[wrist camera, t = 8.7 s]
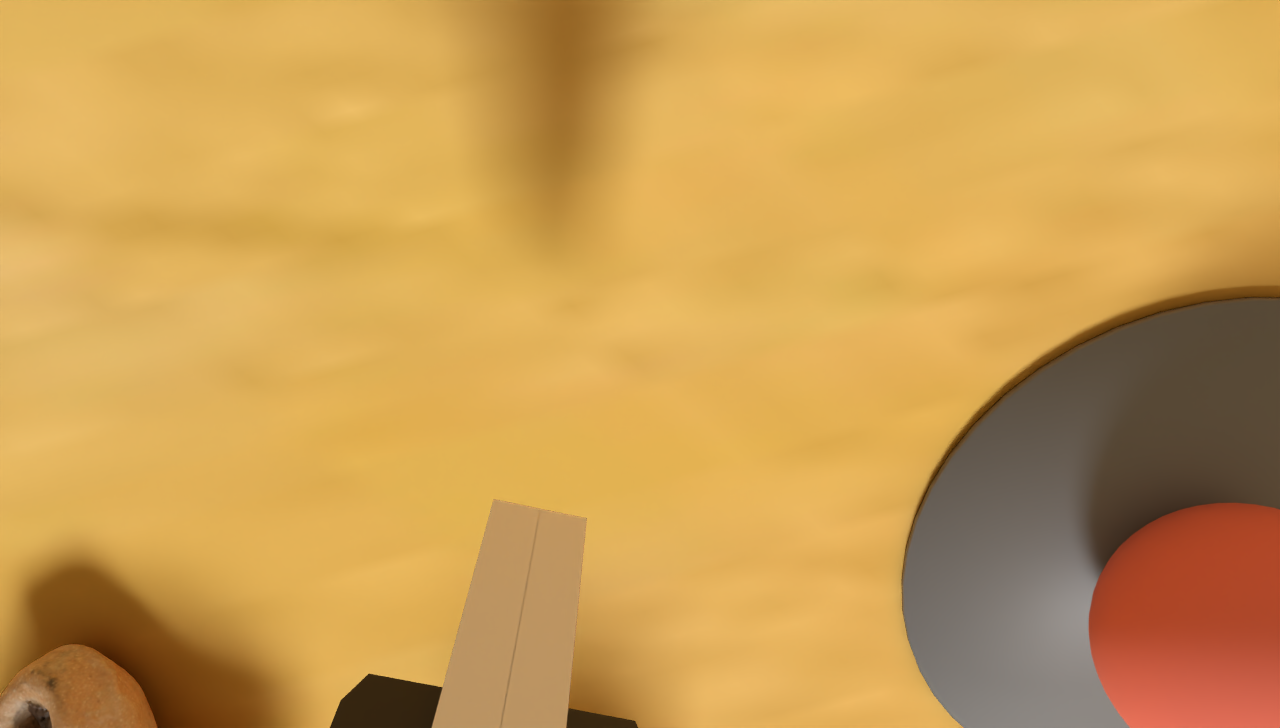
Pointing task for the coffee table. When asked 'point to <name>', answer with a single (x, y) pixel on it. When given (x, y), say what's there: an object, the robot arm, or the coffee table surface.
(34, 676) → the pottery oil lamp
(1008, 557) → the disc
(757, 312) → the coffee table surface
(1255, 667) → the ball
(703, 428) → the coffee table surface
